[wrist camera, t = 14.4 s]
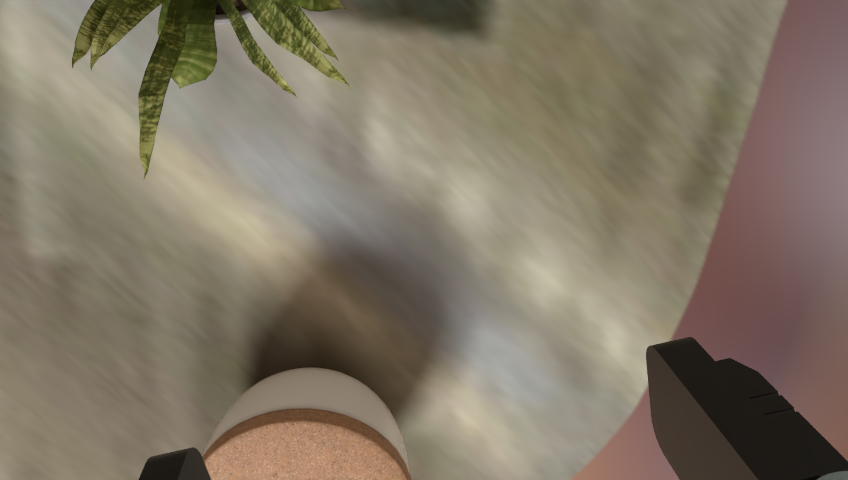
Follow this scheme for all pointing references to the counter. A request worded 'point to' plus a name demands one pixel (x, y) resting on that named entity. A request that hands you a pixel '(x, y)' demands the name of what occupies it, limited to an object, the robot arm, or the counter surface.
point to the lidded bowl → (307, 432)
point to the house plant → (201, 43)
